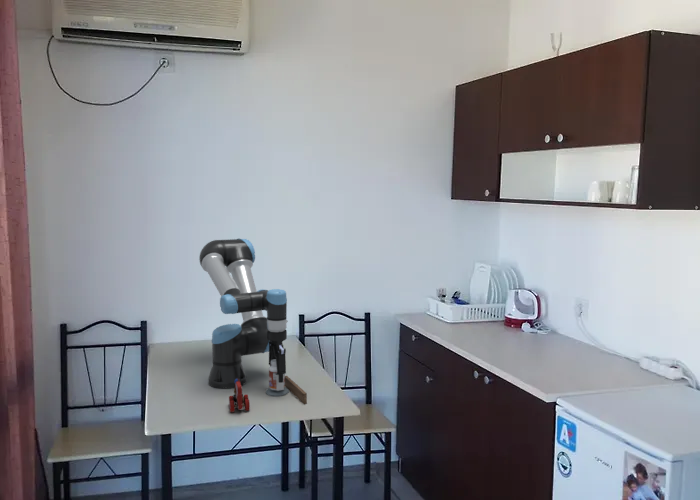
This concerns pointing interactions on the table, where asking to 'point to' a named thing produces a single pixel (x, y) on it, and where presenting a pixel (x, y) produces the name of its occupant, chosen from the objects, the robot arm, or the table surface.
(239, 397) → the toy fire truck
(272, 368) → the pill bottle
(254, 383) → the table surface
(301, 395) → the divider rail
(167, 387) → the table surface
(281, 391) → the slate pad
